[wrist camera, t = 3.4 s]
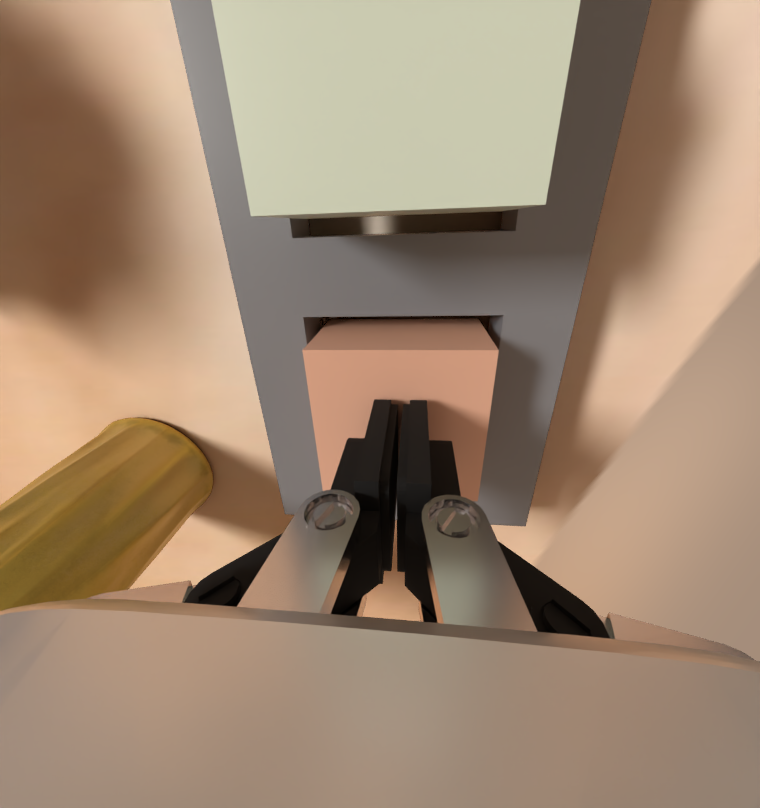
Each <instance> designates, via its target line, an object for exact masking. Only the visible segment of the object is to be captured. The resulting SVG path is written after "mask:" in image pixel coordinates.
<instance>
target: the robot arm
mask: <svg viewBox="0 0 760 808" xmlns="http://www.w3.org/2000/svg"><path fill="white" fill-rule="evenodd" d="M396 503H397V569H398V572H405V586H406V587H407V588H408V589H409V590H410V591H411V592H412V593H413V594H414V595H415V597H416V598H417V599H418V600H419V614H420V621H421V622H419V621H407V620H395V619H383V618H371V617H362V616H363V612H364V609H365V605H366V599H367V593H368V592H369V591H371V590H372V589H373V588H374V587H376V586H377V585H378V584H383V574H384V571H391V568H392V556H393V542H394V529H395V516H396ZM0 808H760V661H756V660H754V659H753V658H751V657H750V656H748V655H747V654H745V653H743V652H742V651H739V650H737V649H734V648H732V647H729V646H727V645H725V644H721V643H718V642H714V641H710V640H707V639H703V638H700V637H696V636H692V635H689V634H685V633H682V632H678V631H675V630H671V629H667V628H664V627H660V626H657V625H653V624H649V623H646V622H642V621H639V620H635V619H631V618H627V617H624V616H621V615H617V614H613V613H610V612H609V613H608V616H607V617H603V616H599V615H597V614H596V613H595V612H594V611H593V610H592V609H591V608H590V607H589V606H588V605H586V604H585V603H584V602H583V601H582V600H580V599H579V598H577V597H576V596H575V595H573V594H572V593H571V592H569V591H568V590H566V589H565V588H563V587H562V586H560V585H559V584H558V583H556V582H555V581H553V580H552V579H551V578H549V577H548V576H546V575H545V574H544V573H542V572H541V571H539V570H538V569H536V568H535V567H534V566H532V565H531V564H530V563H528V562H527V561H525V560H524V559H522V558H521V557H520V556H518V555H517V554H515V553H514V552H513V551H511V550H510V549H508V548H507V547H506V546H504V545H503V544H501V543H500V542H498V541H497V539H496V536H495V534H494V532H493V530H492V527H491V525H490V523H489V520H488V518H487V516H486V514H485V513H484V511H483V510H482V508H481V507H480V506H478V505H477V504H476V503H475V502H473V501H471V500H469V499H467V498H465V497H462V496H461V493H460V487H459V481H458V475H457V468H456V462H455V456H454V450H453V444H452V441H442V440H429V429H428V411H427V400H410V404H403V411H402V423H401V436H400V448H399V460H398V404H392V401H391V400H382V399H374V402H373V406H372V410H371V414H370V418H369V422H368V426H367V430H366V434H365V438H348V439H347V441H346V444H345V447H344V450H343V453H342V456H341V459H340V462H339V465H338V468H337V471H336V474H335V477H334V480H333V483H332V486H331V489H330V490H325V491H321V492H318V493H316V494H313V495H312V496H310V497H309V498H307V499H306V500H305V501H304V502H303V503H302V504H301V506H300V507H299V509H298V510H297V512H296V513H295V515H294V517H293V518H292V520H291V521H290V523H289V525H288V526H287V528H286V529H285V531H284V532H283V533H282V534H280V535H279V536H277V537H275V538H273V539H272V540H270V541H268V542H266V543H265V544H263V545H261V546H259V547H257V548H256V549H254V550H252V551H250V552H249V553H247V554H245V555H243V556H241V557H240V558H238V559H236V560H234V561H233V562H231V563H229V564H227V565H225V566H224V567H222V568H220V569H218V570H217V571H215V572H213V573H211V574H210V575H208V576H207V577H206V578H204V579H203V580H201V581H200V582H199V583H198V584H197V585H193V586H192V584H191V581H184V582H177V583H170V584H163V585H156V586H149V587H143V588H136V589H129V590H122V591H115V592H108V593H102V594H99V595H95V596H92V597H89V598H87V599H75V600H62V601H49V602H43V603H37V604H31V605H25V606H19V607H14V608H9V609H5V610H2V611H0Z"/></svg>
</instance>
